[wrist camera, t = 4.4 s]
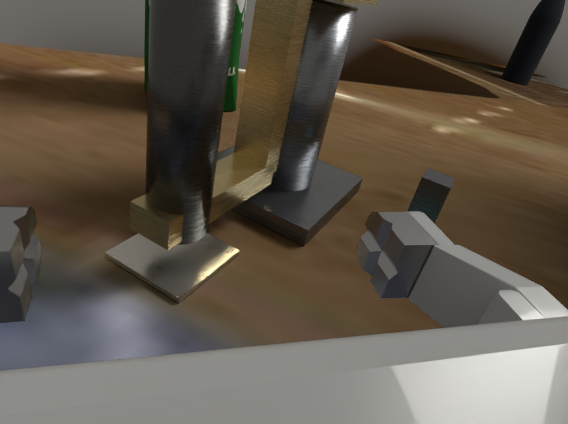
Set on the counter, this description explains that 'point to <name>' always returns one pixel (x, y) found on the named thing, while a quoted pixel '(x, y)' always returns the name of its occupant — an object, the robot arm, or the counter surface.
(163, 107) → the lever
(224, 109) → the milk carton
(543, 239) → the counter surface
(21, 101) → the counter surface
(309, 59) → the post
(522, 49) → the dark blue bottle
